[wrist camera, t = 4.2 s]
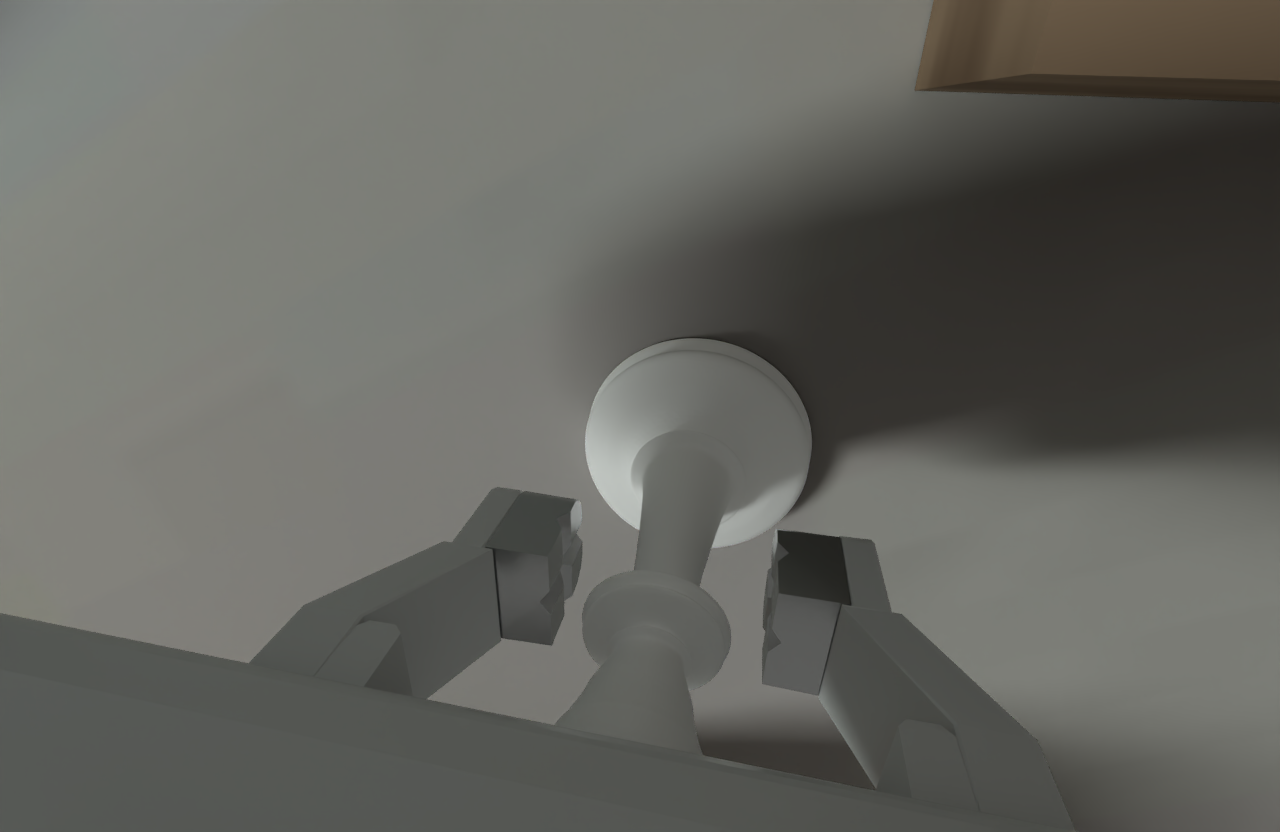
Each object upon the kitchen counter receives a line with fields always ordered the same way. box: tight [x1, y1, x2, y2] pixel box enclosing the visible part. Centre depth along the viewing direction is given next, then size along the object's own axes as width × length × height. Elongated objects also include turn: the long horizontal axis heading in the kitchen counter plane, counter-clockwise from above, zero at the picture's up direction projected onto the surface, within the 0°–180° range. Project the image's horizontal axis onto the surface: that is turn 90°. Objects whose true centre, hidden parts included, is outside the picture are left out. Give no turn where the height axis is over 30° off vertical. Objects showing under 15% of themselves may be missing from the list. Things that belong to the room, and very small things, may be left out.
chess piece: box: [555, 338, 812, 755], centre depth 9 cm, size 5×5×10 cm
